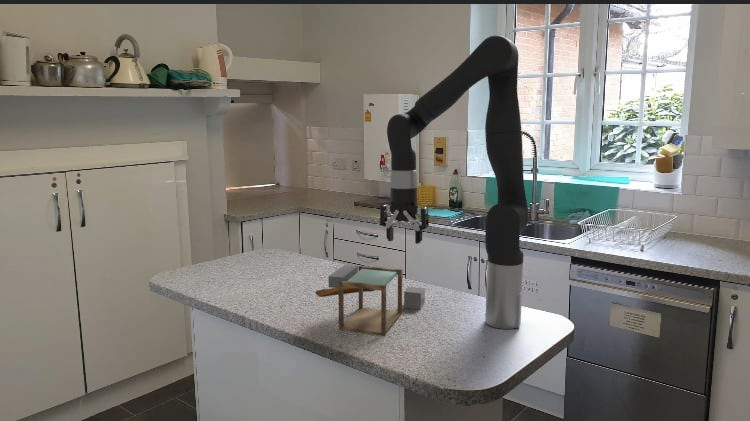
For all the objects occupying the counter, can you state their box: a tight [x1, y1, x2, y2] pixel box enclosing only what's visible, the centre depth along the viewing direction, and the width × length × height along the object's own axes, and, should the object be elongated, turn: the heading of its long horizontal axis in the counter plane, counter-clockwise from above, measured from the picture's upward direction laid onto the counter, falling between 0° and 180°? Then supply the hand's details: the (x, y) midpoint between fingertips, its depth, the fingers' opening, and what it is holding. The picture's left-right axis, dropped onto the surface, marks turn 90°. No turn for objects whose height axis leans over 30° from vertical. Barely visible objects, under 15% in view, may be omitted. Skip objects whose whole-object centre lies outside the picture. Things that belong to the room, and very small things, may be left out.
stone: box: [403, 286, 426, 310], centre depth 170 cm, size 5×5×5 cm
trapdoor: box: [328, 264, 398, 288], centre depth 156 cm, size 15×14×3 cm
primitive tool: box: [315, 287, 368, 298], centre depth 184 cm, size 19×6×4 cm, turn 112°
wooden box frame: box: [338, 265, 403, 336], centre depth 156 cm, size 13×17×13 cm
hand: (404, 242), depth 166 cm, fingers open, 8 cm apart
